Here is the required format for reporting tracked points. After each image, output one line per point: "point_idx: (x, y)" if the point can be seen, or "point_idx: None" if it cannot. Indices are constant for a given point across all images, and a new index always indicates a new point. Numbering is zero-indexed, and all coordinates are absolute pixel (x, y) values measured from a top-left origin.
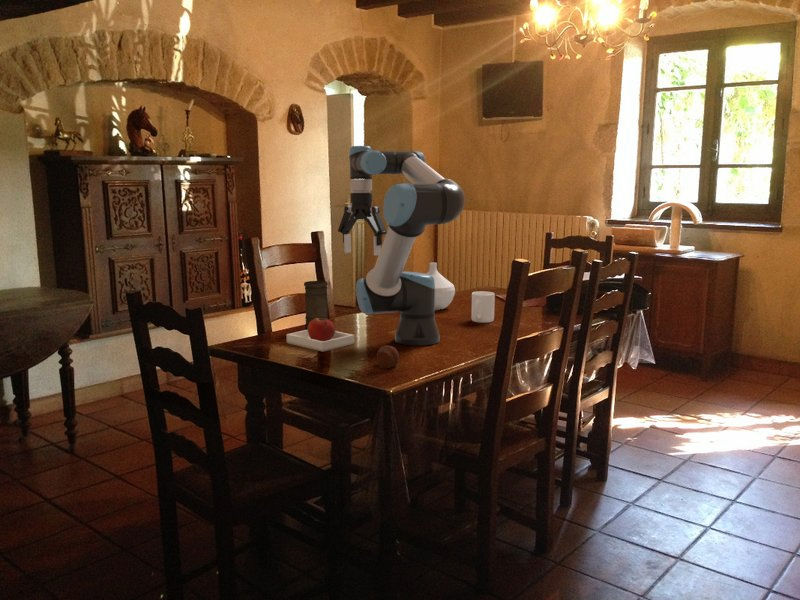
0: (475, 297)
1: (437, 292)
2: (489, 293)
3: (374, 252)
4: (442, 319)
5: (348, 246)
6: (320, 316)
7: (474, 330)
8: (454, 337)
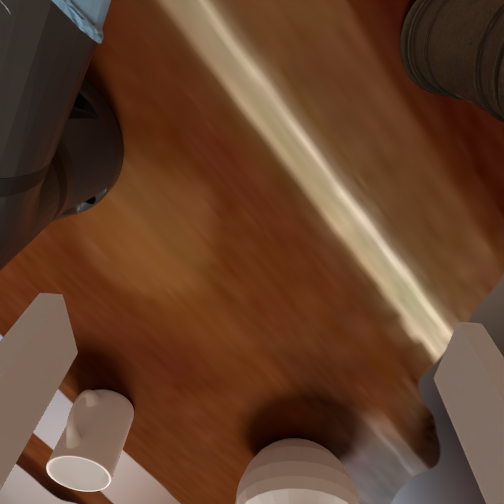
0: (82, 448)
1: (254, 482)
2: (83, 485)
3: (37, 314)
4: (193, 380)
5: (472, 409)
6: (444, 9)
7: None
8: None
